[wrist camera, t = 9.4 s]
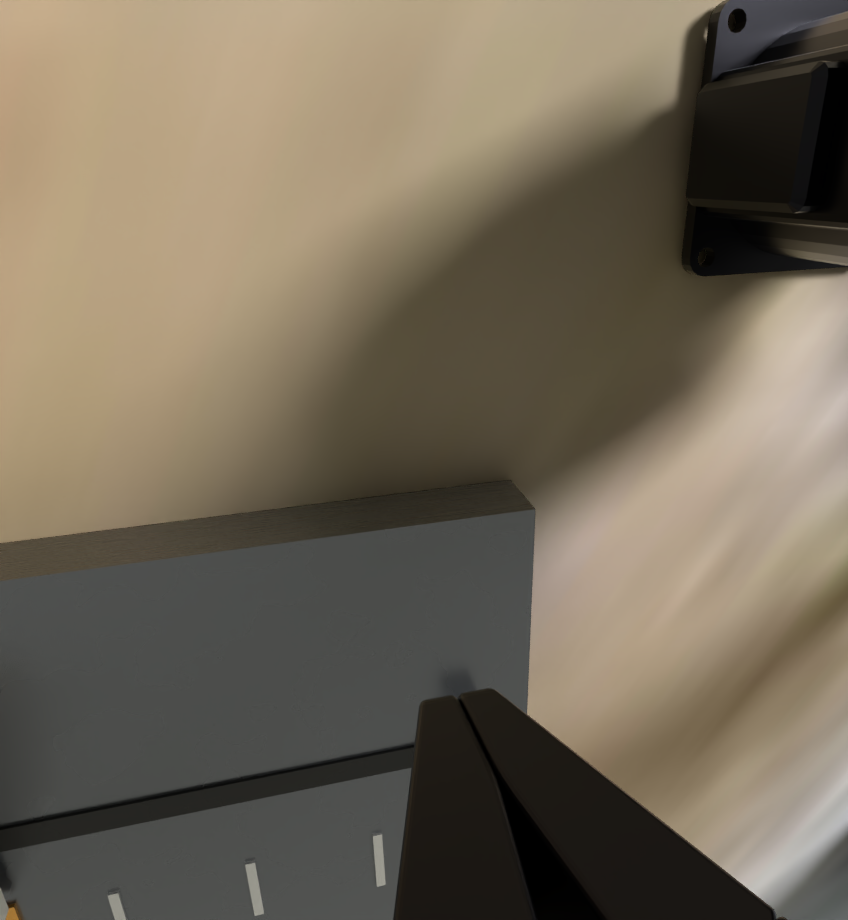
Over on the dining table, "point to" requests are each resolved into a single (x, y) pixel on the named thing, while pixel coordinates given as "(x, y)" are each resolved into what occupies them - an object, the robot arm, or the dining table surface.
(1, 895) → the fader
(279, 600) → the console
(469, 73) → the dining table surface
